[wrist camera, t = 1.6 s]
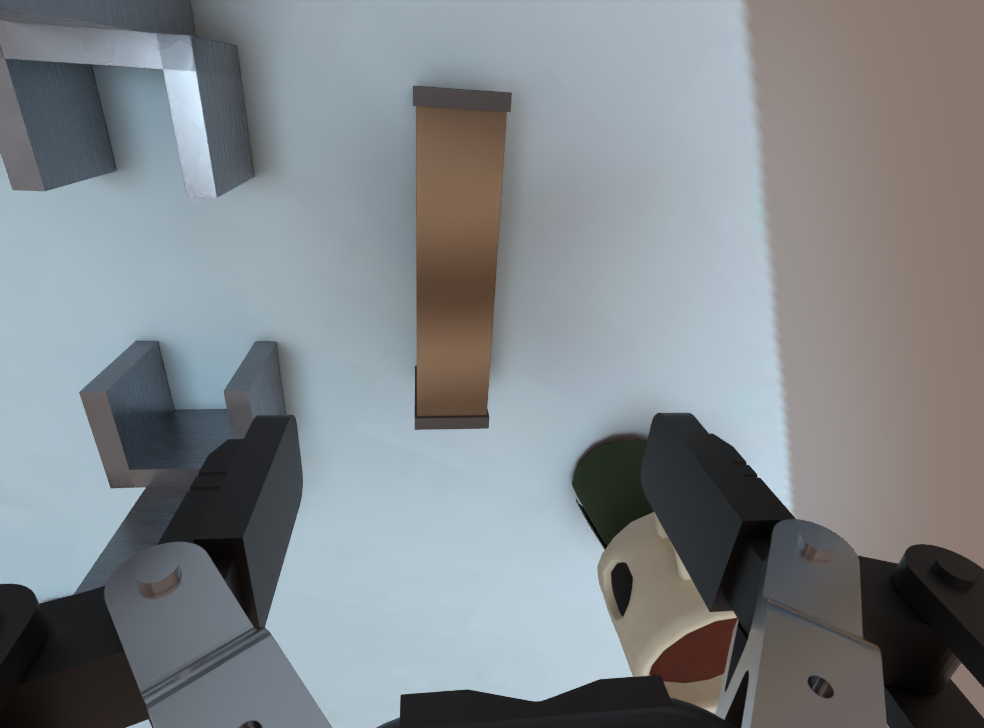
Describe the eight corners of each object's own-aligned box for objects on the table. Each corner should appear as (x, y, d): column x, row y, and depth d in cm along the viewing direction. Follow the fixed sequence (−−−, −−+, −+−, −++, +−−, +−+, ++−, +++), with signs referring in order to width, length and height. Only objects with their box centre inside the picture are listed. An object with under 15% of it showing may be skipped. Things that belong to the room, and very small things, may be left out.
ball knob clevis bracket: (29, -66, 19) (-720, -357, 7) (224, -47, 20) (-105, -271, 7) (169, 471, 30) (-13, 753, 17) (292, 468, 31) (205, 733, 18)
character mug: (546, 419, 32) (619, 609, 20) (664, 385, 32) (804, 557, 20) (579, 547, 37) (652, 756, 25) (680, 518, 37) (799, 715, 25)
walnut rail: (413, 85, 23) (413, 86, 18) (493, 91, 23) (511, 92, 19) (415, 375, 29) (414, 429, 25) (477, 375, 30) (488, 428, 25)
